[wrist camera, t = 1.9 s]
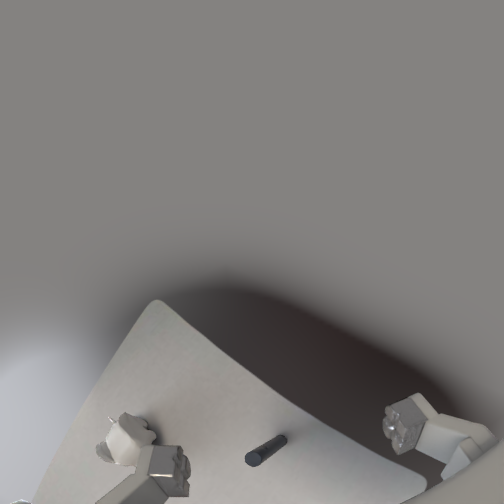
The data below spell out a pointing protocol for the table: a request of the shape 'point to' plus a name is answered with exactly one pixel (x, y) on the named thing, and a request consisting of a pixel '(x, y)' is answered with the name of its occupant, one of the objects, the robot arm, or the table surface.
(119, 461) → the elephant figurine
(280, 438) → the rod
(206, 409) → the table surface
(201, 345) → the table surface
